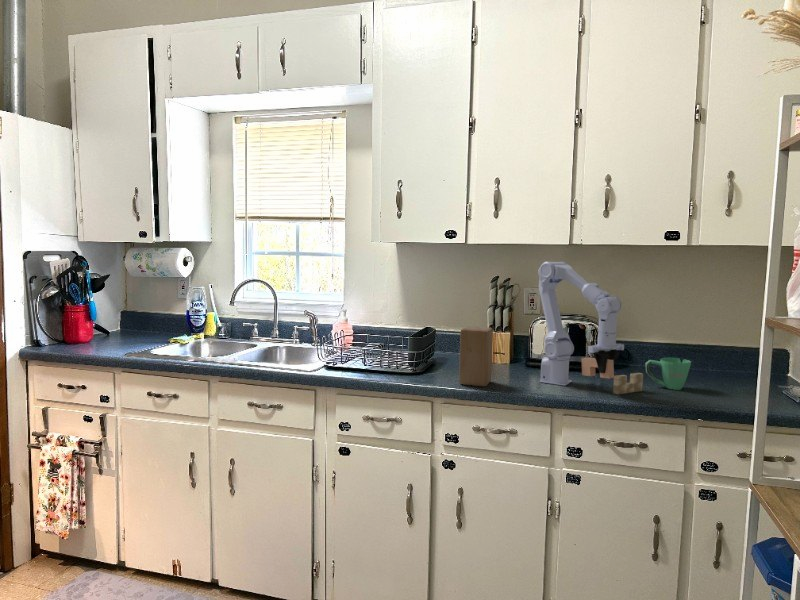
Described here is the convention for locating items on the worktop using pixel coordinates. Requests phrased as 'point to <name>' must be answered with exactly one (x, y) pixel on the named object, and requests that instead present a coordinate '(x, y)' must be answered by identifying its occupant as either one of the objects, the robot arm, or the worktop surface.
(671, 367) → the mug
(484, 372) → the wooden block
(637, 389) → the tan notched block
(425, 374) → the worktop surface
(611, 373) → the tan flat notched board
